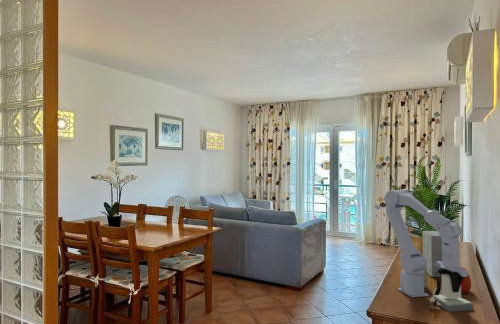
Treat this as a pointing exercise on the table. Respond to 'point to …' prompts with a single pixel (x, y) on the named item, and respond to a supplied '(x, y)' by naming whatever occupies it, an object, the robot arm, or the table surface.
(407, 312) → the table surface
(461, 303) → the tray
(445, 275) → the carton
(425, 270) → the box
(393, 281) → the table surface
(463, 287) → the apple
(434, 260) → the hard drive box
